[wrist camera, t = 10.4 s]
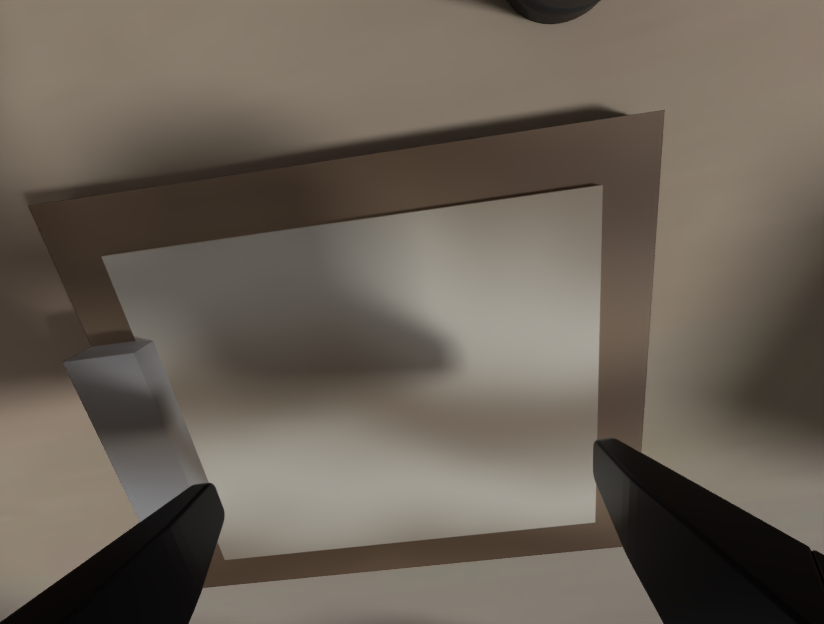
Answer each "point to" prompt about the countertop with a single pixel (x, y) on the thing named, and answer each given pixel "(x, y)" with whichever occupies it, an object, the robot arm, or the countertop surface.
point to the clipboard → (375, 345)
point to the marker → (552, 9)
